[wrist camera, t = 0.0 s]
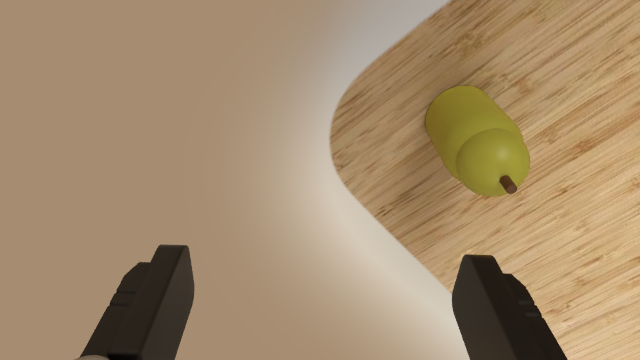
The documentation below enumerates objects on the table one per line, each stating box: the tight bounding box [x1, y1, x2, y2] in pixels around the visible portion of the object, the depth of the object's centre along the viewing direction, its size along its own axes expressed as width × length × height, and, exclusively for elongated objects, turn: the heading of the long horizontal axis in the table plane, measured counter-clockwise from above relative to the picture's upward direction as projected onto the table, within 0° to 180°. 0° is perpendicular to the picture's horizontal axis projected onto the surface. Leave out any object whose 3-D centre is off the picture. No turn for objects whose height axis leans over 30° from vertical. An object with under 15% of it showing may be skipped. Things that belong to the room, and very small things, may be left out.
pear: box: [425, 86, 530, 197], centre depth 27 cm, size 5×5×10 cm
